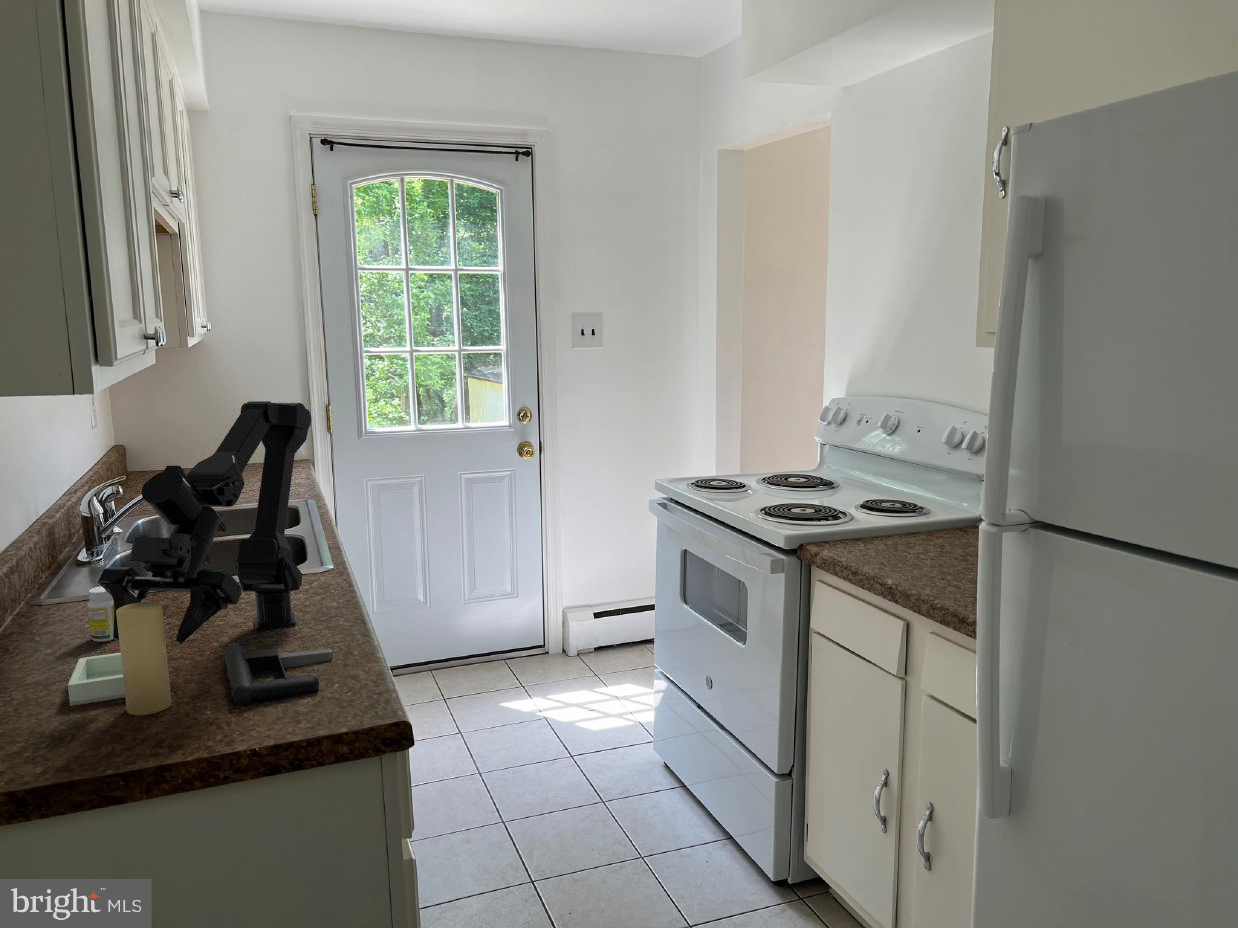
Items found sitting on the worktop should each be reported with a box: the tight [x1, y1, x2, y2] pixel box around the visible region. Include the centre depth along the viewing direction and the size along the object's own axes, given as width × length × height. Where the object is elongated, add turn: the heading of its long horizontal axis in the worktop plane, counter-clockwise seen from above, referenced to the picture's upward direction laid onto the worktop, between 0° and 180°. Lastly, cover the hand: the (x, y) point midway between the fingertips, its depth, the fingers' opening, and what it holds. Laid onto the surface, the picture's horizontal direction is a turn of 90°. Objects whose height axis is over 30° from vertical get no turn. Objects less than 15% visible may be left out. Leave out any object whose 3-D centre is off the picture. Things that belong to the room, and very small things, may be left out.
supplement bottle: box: [87, 585, 115, 642], centre depth 150 cm, size 5×5×8 cm
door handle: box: [218, 642, 334, 706], centre depth 133 cm, size 3×20×16 cm
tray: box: [67, 652, 125, 707], centre depth 130 cm, size 11×11×3 cm
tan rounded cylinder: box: [116, 601, 172, 716], centre depth 121 cm, size 5×5×14 cm
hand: (147, 640), depth 122 cm, fingers open, 9 cm apart
